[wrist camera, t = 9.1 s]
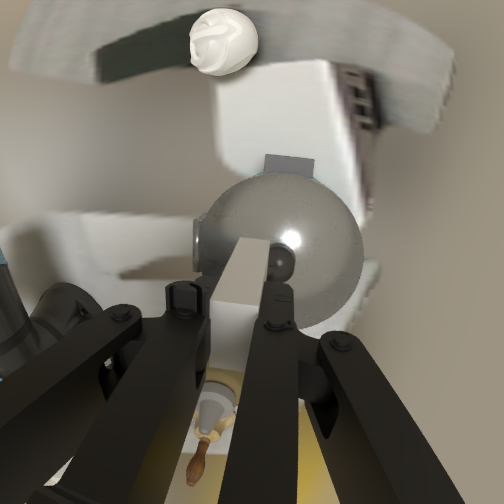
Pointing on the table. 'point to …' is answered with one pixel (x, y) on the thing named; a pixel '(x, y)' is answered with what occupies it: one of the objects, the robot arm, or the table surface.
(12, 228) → the table surface
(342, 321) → the table surface
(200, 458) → the hand bell
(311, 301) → the lid
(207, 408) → the squeeze bottle
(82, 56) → the table surface
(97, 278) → the table surface
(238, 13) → the white swirled ball
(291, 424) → the robot arm
